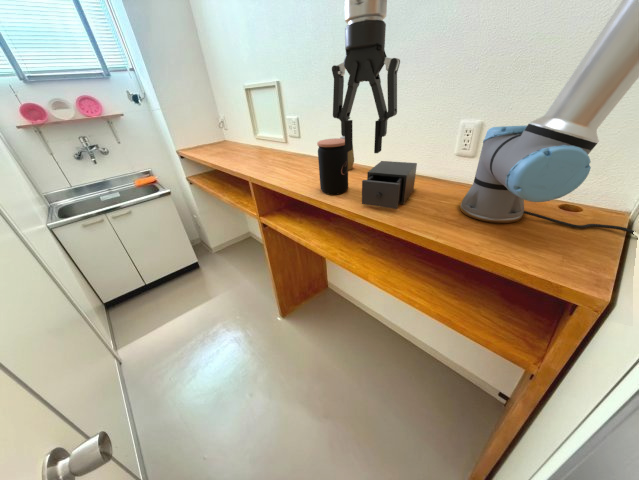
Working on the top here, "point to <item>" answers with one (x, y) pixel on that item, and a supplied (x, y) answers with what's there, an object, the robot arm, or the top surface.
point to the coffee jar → (333, 166)
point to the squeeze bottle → (349, 157)
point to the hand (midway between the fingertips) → (362, 151)
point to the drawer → (382, 191)
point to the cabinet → (397, 175)
